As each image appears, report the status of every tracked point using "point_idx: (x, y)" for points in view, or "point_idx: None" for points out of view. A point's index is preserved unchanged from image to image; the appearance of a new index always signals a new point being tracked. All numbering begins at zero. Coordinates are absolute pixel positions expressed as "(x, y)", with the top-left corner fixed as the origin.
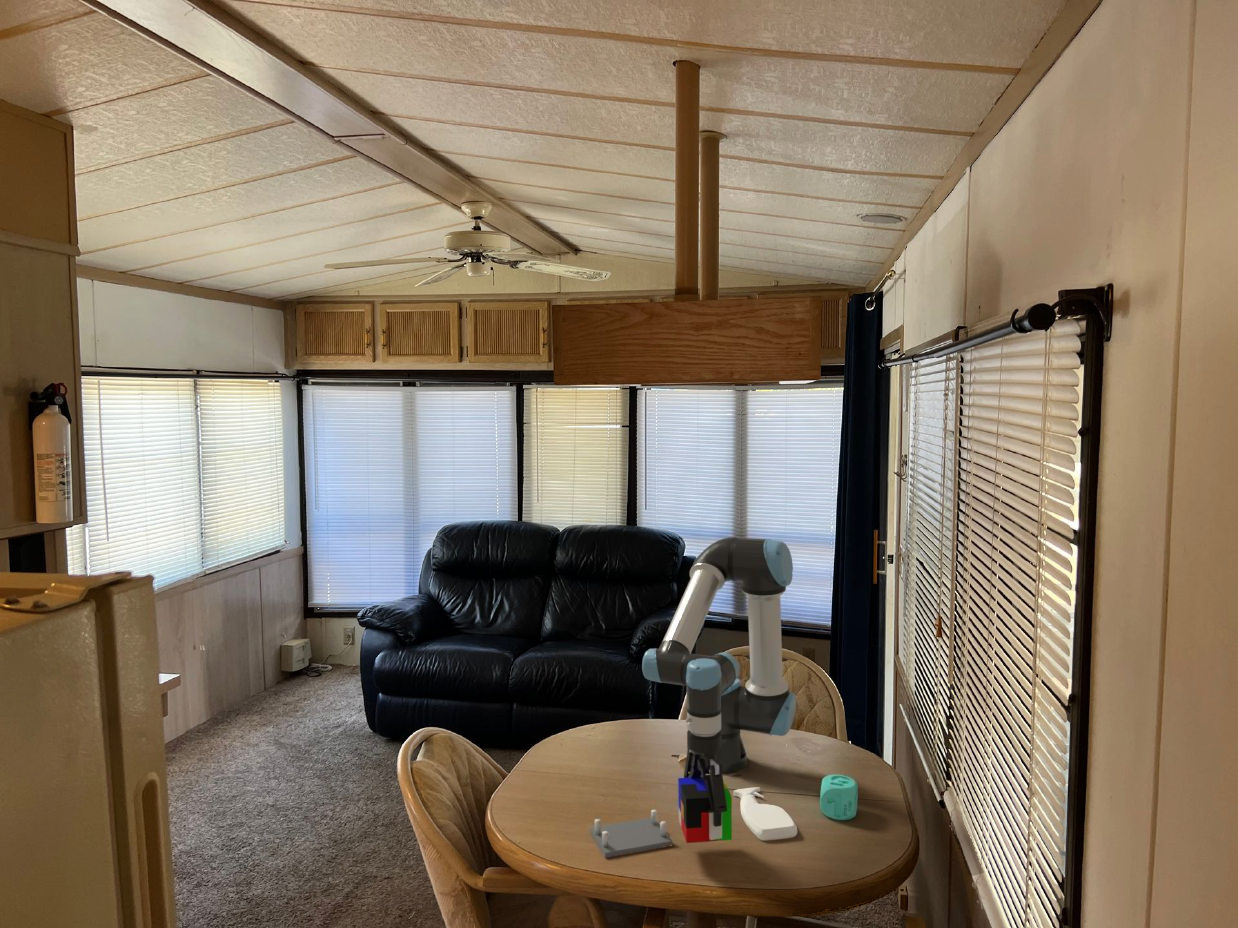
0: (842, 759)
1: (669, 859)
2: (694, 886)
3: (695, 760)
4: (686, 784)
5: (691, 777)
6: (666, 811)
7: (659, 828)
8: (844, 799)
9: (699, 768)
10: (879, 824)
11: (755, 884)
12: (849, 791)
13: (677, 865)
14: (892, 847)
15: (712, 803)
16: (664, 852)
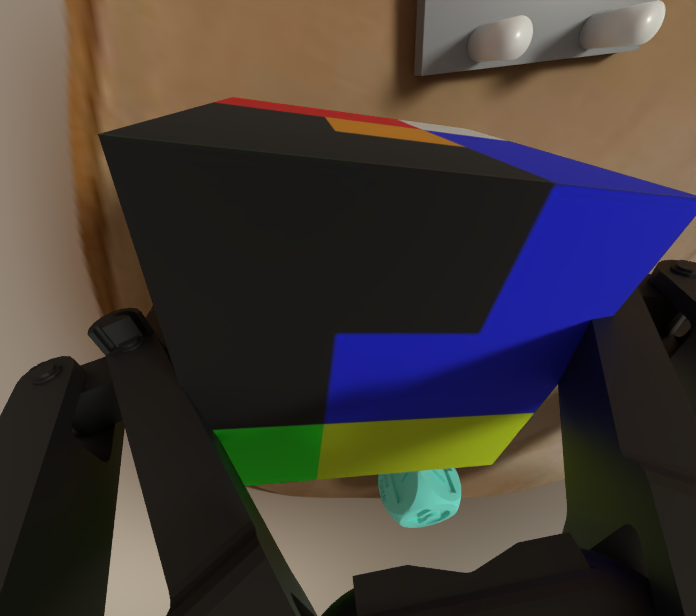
0: (542, 472)
1: (309, 16)
2: (72, 71)
3: None
4: (517, 252)
5: (592, 328)
6: (637, 137)
7: (539, 43)
8: (391, 496)
9: (501, 608)
10: (356, 481)
11: (135, 292)
12: (393, 516)
13: (254, 43)
14: (288, 485)
15: (116, 382)
16: (373, 10)
